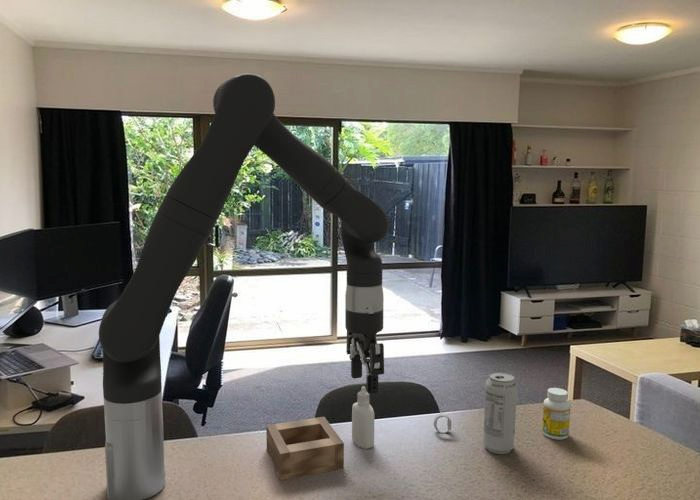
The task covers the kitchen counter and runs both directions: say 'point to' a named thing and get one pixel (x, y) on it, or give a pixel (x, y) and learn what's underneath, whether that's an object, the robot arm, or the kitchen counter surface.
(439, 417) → the smartwatch
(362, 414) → the eye dropper bottle
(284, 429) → the socket block
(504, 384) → the energy drink can
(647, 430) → the kitchen counter surface
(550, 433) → the supplement bottle
